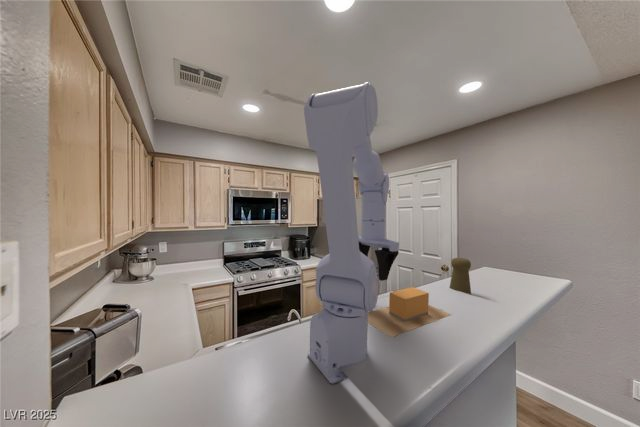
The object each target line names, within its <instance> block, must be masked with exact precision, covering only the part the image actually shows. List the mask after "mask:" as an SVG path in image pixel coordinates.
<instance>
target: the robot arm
mask: <svg viewBox="0 0 640 427" xmlns="http://www.w3.org/2000/svg"><path fill="white" fill-rule="evenodd" d="M378 108H379V107H378V97H377V92H376V88H375V86H374V85H373V84H372V83H371V82H369V81H367V82H364V83H363V84H359V85H352V86H348V87H344V88H340V89H334V90H330V91H326V92H322V93H312V94H310V96H309V97H308V98H307V100H306V103H305V105H304V107H303V115H304V116H303V117H304V124H305V129H306V137H307V140H308V141H307V142H308V148H309V149H311V150H313V151H315V152H316V157H317V165H318V173H319V182H320V183H319V184H320V189H321V197H322V199H321V200H322V205H323V212H324V213H323V214H324V222H325V229H326V236H327V244H328V252H329V253H328V254H326V255H324V257H322V258H321V259H320V261H319V262H318V264H317V266H316V267H315V284H314V291H315V295H316V297H317V298H316V299H318V301H319V302H321V308H322V309H321V311H319V312H317V313H314V314H313V315H312V316H311V319H310V322H309V323H310V324H309V351H308V352H307V356H308V357H309V359H310V360H311V361H312V362H313V364H314V365H315V366H316V367H317V368H318V370H319V371H320V372H321V374H322V375H323V376H324V377H325V378H326V380H327V381H328V383H330V384H336V383H337V382H341V381H342V380H344V379H347V378H348V376H347V375H346V374H345V372H344V371H343V370H342V369H341V367H345V366H349V365H356V364H359V363H361V362H363V361H364V360H366V357H367V355H368V327H369V326H368V325H369V323H368V312H372V311H374V309H375V308H376V305H377V304H378V303H377V302H378V299H379V298H378V296H379V284H380V283H379V281H380V282H383V281H388V279H389V276H390V272H391V269H392V266H393V264H394V262H395V260H396V258H397V257H398V255H399V254H400V253H399V251H400V248H399V247H400V242H398V241H394V240H390V239H388V238H387V237H386V214H387V213H386V210H387V209H386V208H387V204H386V203H387V202H388V196H389V195H388V194H389V188H390V177H389V173H385V170H384V169H383V164H382V161H381V156H380V155H379V153H378V152H376V151H374V150H373V147H372V141H371V135H372V133H373V131H374V128H375V126H376V124H377V122H378V115H379V114H378V112H379V111H378ZM353 156H354V158H353ZM354 171H355V173H356V175H357V177H358V182H357V183H358V188H359V193H360V195H361V196H362V197H361V227H360V228H361V232H360V235H359V231H358V219H357V218H358V216H357V205H356V204H357V203H356V193H355V190H356V189H355V179H354ZM371 247H374V248H379V249H375V250H374V253H375V256H376V261H377V267H378V268H377V270H378V274H377V270H376V266H375V262H374V261H373V260H372V259H370V257H368V256H369V252H370V248H371Z"/></svg>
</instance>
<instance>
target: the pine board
mask: <svg viewBox="0 0 640 427" xmlns="http://www.w3.org/2000/svg"><path fill="white" fill-rule="evenodd" d="M448 316H452V313H449V312H447V311H445V310H442V309H440V308H438V307H435V306H432V305H430V304H428V314H427V315H424V316H421V317H418V318H415V319H412V320H410V321H407V322H404V321H402V320H400V319H398V318H396V317H394V316H393V315H391V314H389V306H387V307H383V308H380V309H375V310H372V311H371V312H369V311H368V325H371V326H373V327H375V329H377V330H379V332H381V333H383V334H385V335H386V336H388V337H389V338H394V337H397V336H398V335H402V334H405V333H407V332H409V331H412V330H414V329H418V328H421V327H423V326H425V325H429V324H430V323H433V322H437V321H438V320H441V319H444V318H446V317H448Z"/></svg>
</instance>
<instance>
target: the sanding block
mask: <svg viewBox="0 0 640 427" xmlns="http://www.w3.org/2000/svg"><path fill="white" fill-rule="evenodd" d="M429 295H430V293H429V292H428V291H425V290H421V289H419V288H416V287H414V286H412V287H407V288H402V289H399V290H394V291H391V292H390V291H389V302H388V303H389V306H388V307H389V314H391V315H393V316H394V317H396V318H398V319H400V320H402V321H404V322H407V321H410V320H412V319H415V318H418V317H421V316H424V315H427V314H428V305H429V297H430V296H429Z"/></svg>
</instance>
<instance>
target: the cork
mask: <svg viewBox="0 0 640 427" xmlns="http://www.w3.org/2000/svg"><path fill="white" fill-rule="evenodd" d="M471 263H472V262H471V261H470V260H469V259H467V258H464V257H454V258H452V260H451V262H450V264H451V267H452V273H451V277H450V282H449V283H450V284H449V289H451V290H453V291H456V292H461V293H464V294H467V295H471V296H472V290H471V282H470V271H469V270H470V269H471V266H472V264H471Z"/></svg>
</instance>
